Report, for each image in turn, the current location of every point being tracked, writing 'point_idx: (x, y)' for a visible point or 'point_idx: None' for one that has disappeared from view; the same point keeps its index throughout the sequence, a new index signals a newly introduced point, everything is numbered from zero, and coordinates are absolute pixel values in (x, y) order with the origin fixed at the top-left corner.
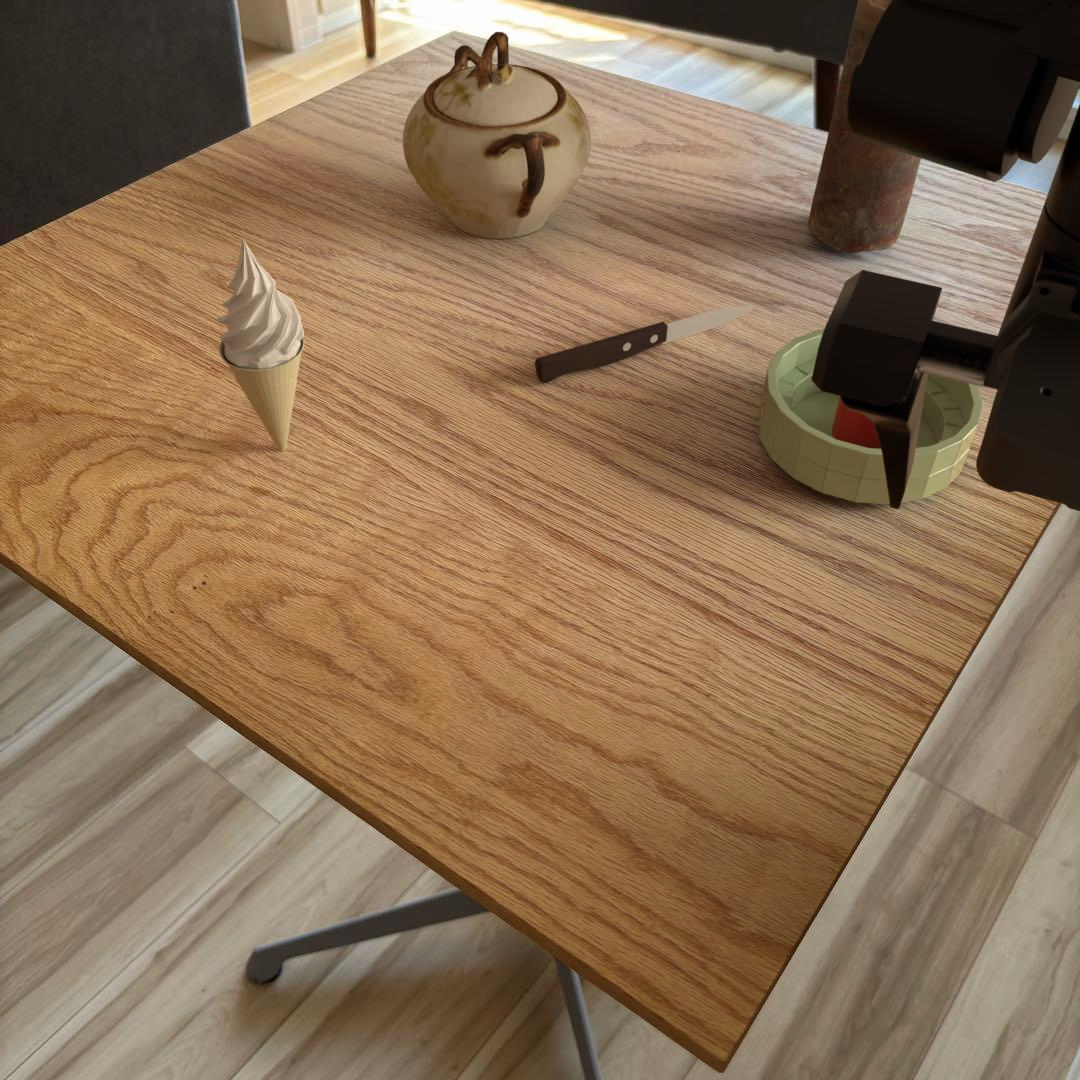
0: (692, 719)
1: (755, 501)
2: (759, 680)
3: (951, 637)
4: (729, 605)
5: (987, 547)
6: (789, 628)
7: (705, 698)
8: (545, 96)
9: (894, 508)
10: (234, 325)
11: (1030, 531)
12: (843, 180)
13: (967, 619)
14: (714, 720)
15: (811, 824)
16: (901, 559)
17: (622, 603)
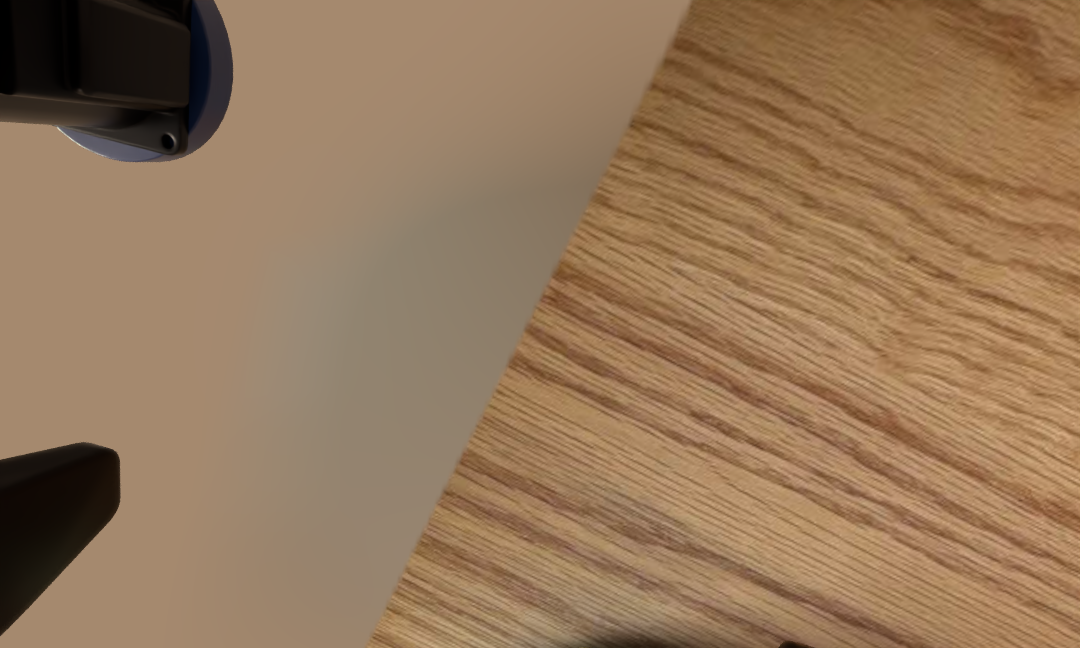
0: (947, 202)
1: None
2: (815, 302)
3: (503, 422)
4: (849, 445)
5: (444, 582)
6: (752, 411)
7: (917, 251)
8: None
9: (800, 644)
10: None
11: (386, 612)
12: None
13: (479, 457)
14: (906, 207)
15: (756, 16)
16: (566, 553)
17: (1045, 430)
